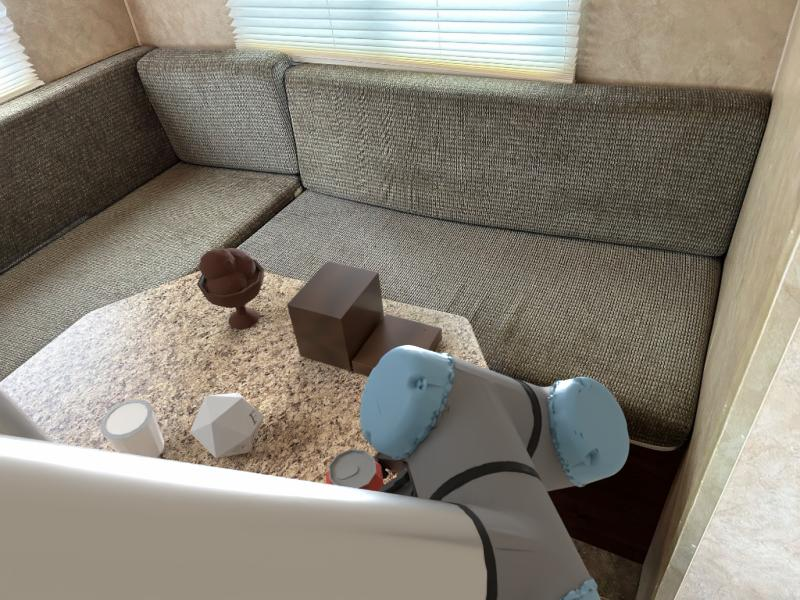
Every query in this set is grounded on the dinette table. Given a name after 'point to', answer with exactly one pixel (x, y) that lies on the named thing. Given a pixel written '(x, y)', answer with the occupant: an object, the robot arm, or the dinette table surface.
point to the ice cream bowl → (231, 283)
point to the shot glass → (133, 429)
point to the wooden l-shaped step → (351, 320)
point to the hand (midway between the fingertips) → (334, 502)
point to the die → (226, 424)
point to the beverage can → (355, 471)
